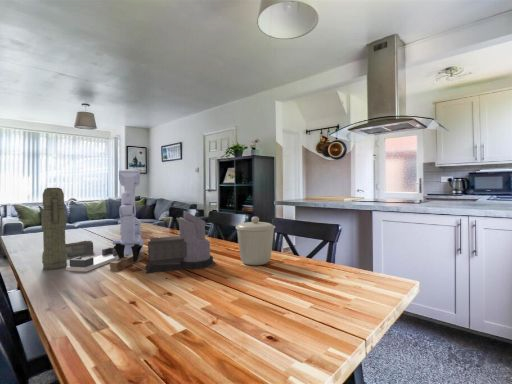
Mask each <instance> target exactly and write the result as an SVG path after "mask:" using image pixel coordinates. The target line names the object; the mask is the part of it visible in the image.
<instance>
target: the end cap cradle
mask: <svg viewBox="0 0 512 384" xmlns="http://www.w3.org/2000/svg"><path fill="white" fill-rule="evenodd" d="M124 257H126V255H125V254H124ZM118 259H119V257H118V254H117V252H116V250H115V249H114V246H113V247H106V248H103V249H101V254H100V255H98V256H95V257H93V256H91V257H88V258H85V259H82V256H76V257H73V258H71V259H69V265H67V266H66V267H65V271H69V272H70V271H71V272H89V271H91V270H95V269H96V268H99V267H102V266H105V265H107V264H110V262H113V261H116V260H118Z"/></svg>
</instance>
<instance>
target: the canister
mask: <svg viewBox="0 0 512 384" xmlns="http://www.w3.org/2000/svg"><path fill="white" fill-rule="evenodd" d="M275 228H276V226H275V225H274V224H272V223H270V222H264V221H260V218H259V216H252V217H251V221H247V222H242V223H240V224H237V225H236V226H235V229H236V233H237V242H238V251H239V256H240V260H241V261H242V263H243V264H245V265H248V266H263V265H266V264H268V263H270V260H271V257H272V252H273V251H272V249H273V242H274V241H273V240H274V231H275Z"/></svg>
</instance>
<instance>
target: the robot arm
mask: <svg viewBox="0 0 512 384" xmlns="http://www.w3.org/2000/svg"><path fill="white" fill-rule="evenodd" d="M118 181H119V184H120V186H122V187H124V192H122V194H121V201H120V203H121V204H120V206H119V208H118V210H119V212H118V213H119V221H120V229H119V230H120V231H119V233H120V234H119V235H120V239H113V240H112V245H113V247H114V249H115V250H116V252H117V254H118V257H119V259H121V258H123V257H124V254H125V256H128V255H131V254H133V261H134V262H135V261H137V260H138V256H139V253H140V252H145V250H144V249H143V247H144V245H145V240H143V238H142V236H141V235H142V223H141V222H142V221H141V220H140V219H138V218H137V217H136V214H137V213H136V212H137V211H136V210H137V209H136V188H137V187H138V186H140V183H141V170H139V169H119V170H118ZM137 262H138V261H137ZM135 263H136V262H135Z"/></svg>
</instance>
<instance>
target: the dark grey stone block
mask: <svg viewBox="0 0 512 384" xmlns="http://www.w3.org/2000/svg"><path fill="white" fill-rule="evenodd" d="M65 244H66V250H67V258H71V257H80V256H85V255H91V254H94V242H93V241H92V240H80V241H77V242H70V243H65Z"/></svg>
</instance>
